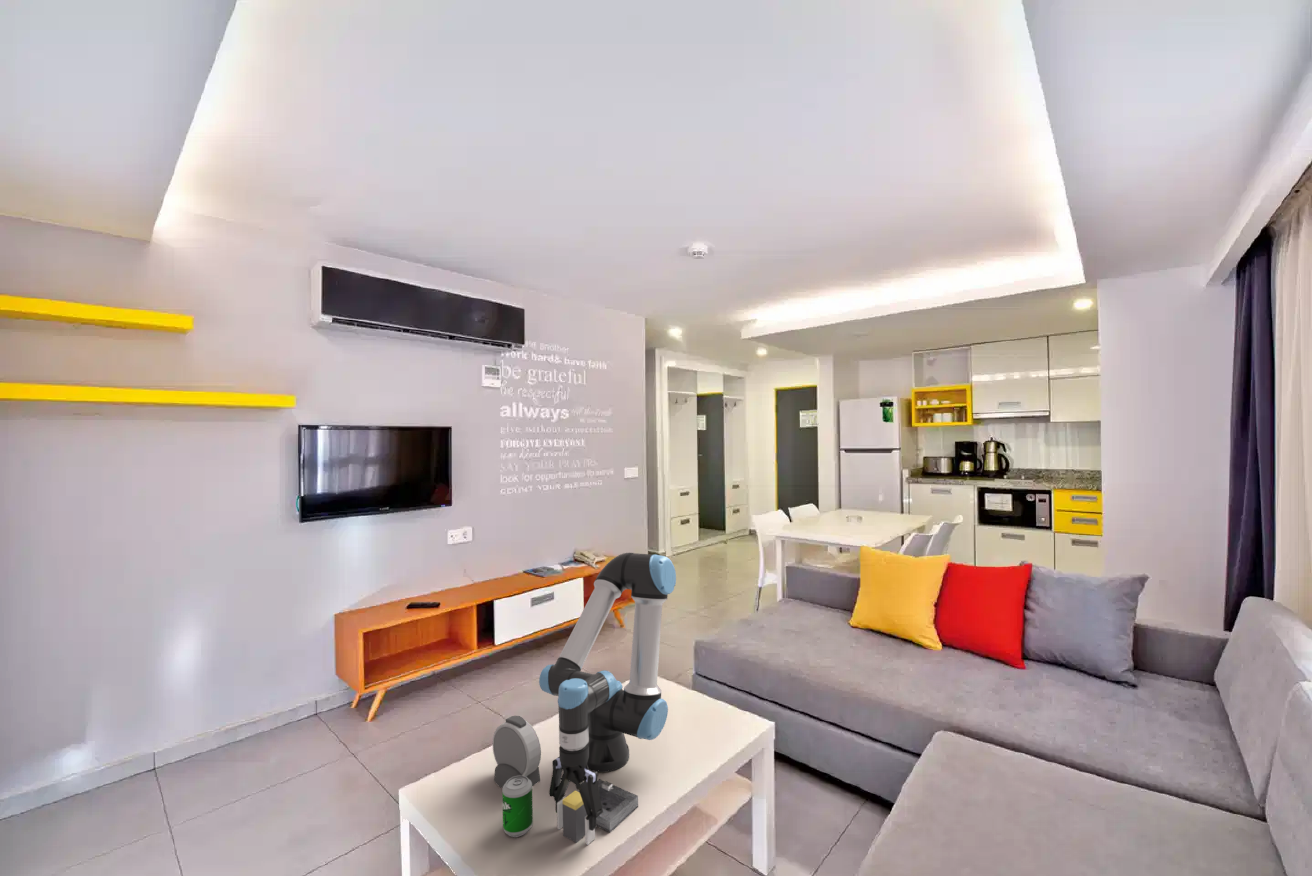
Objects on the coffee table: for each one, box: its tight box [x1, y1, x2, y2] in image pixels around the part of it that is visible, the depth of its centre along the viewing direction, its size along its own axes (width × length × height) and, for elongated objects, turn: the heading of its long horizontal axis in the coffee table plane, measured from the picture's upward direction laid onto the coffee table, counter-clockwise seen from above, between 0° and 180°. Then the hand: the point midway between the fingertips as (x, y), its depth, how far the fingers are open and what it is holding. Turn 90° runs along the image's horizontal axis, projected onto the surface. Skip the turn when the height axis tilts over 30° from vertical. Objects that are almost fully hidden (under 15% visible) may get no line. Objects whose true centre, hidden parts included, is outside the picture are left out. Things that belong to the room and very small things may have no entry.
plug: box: [562, 790, 587, 844], centre depth 138 cm, size 5×5×9 cm
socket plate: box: [596, 778, 639, 833], centre depth 147 cm, size 14×12×4 cm
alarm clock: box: [492, 715, 542, 789], centre depth 162 cm, size 16×10×18 cm, turn 56°
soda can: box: [501, 775, 534, 838], centre depth 140 cm, size 8×8×12 cm
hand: (575, 833), depth 138 cm, fingers open, 9 cm apart
